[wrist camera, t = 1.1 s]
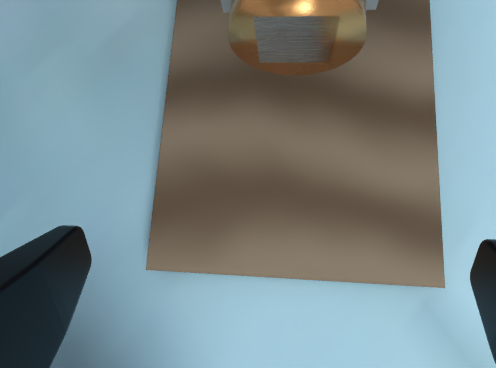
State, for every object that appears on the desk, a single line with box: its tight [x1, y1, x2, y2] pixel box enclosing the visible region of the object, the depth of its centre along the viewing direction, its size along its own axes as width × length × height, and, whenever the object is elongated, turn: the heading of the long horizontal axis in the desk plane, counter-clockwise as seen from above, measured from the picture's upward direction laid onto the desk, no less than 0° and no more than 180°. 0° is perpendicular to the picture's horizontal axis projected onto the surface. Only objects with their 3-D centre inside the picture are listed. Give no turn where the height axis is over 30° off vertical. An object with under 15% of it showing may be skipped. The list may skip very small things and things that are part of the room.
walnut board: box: [146, 0, 445, 288], centre depth 23 cm, size 20×15×1 cm
